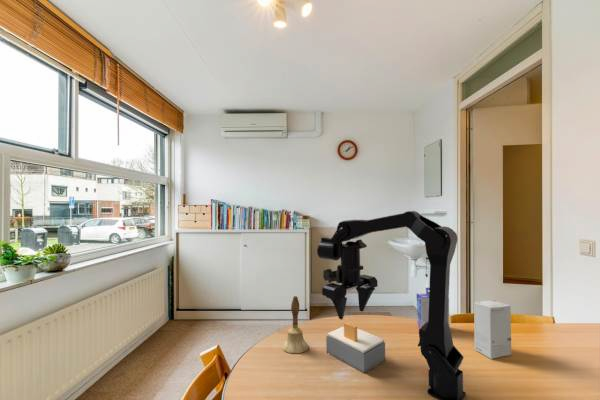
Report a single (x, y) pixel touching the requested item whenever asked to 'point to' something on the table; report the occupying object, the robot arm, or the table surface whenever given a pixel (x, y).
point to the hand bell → (295, 333)
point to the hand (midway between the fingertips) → (351, 315)
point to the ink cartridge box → (424, 308)
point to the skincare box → (492, 328)
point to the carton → (356, 354)
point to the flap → (355, 337)
